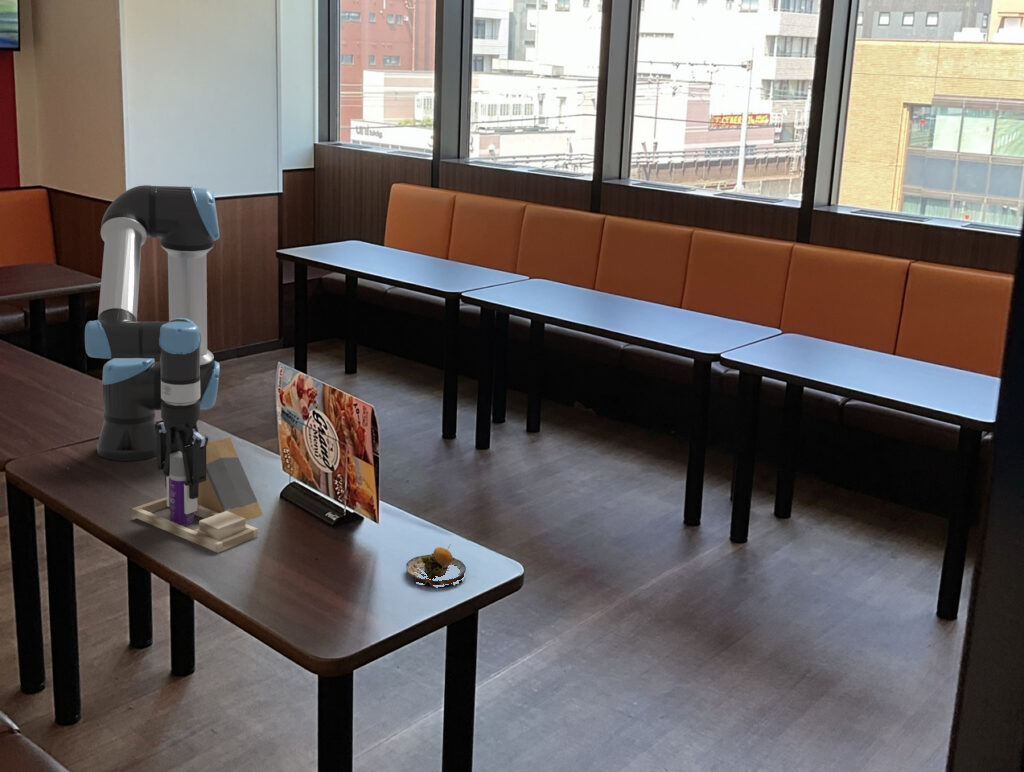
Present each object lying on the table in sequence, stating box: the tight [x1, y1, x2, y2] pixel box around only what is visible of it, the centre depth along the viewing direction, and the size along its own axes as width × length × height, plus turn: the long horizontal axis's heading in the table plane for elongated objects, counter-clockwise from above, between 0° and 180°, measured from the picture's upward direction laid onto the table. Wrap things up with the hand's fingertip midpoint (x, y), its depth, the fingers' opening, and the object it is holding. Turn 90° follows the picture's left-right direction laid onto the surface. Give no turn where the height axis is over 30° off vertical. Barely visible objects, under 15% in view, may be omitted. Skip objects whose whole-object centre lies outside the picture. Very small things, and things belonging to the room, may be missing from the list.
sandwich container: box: [197, 437, 265, 521], centre depth 227 cm, size 9×15×15 cm, turn 45°
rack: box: [131, 496, 259, 554], centre depth 220 cm, size 26×10×3 cm, turn 56°
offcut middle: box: [199, 528, 245, 541], centre depth 215 cm, size 6×7×2 cm
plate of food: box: [406, 545, 467, 587], centre depth 209 cm, size 12×12×8 cm
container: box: [169, 451, 195, 526], centre depth 220 cm, size 5×5×15 cm
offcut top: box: [198, 511, 247, 538], centre depth 214 cm, size 6×7×2 cm
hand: (182, 508), depth 221 cm, fingers closed on container, 5 cm apart
